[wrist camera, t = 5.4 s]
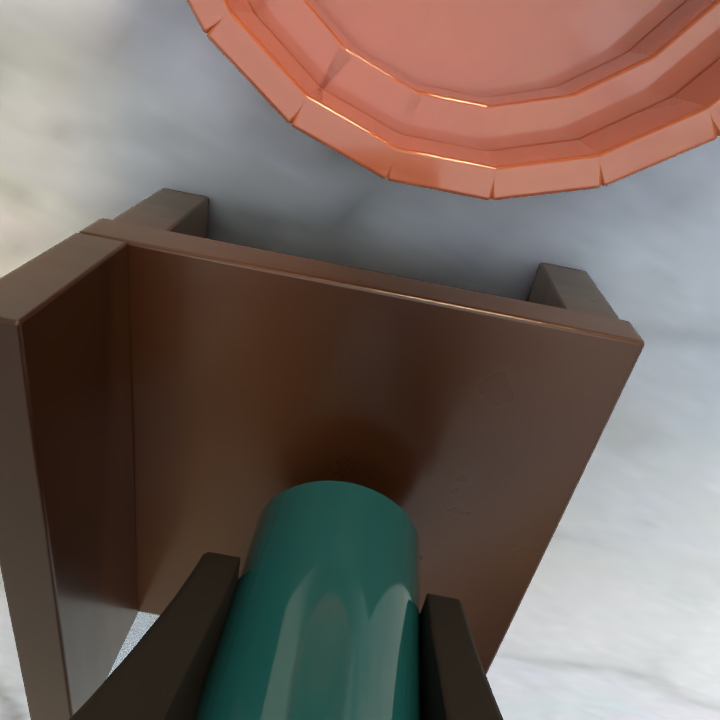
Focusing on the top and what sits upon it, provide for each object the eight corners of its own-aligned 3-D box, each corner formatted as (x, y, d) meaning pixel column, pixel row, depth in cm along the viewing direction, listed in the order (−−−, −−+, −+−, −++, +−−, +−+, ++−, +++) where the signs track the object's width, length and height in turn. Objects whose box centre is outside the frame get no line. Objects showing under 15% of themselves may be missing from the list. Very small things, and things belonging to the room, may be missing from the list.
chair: (158, 505, 20) (32, 736, 13) (158, 182, 14) (-54, 308, 8) (474, 565, 20) (501, 822, 14) (592, 268, 15) (734, 461, 8)
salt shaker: (249, 581, 14) (145, 922, 8) (262, 464, 12) (141, 804, 7) (400, 610, 14) (390, 967, 8) (437, 497, 12) (452, 862, 7)
